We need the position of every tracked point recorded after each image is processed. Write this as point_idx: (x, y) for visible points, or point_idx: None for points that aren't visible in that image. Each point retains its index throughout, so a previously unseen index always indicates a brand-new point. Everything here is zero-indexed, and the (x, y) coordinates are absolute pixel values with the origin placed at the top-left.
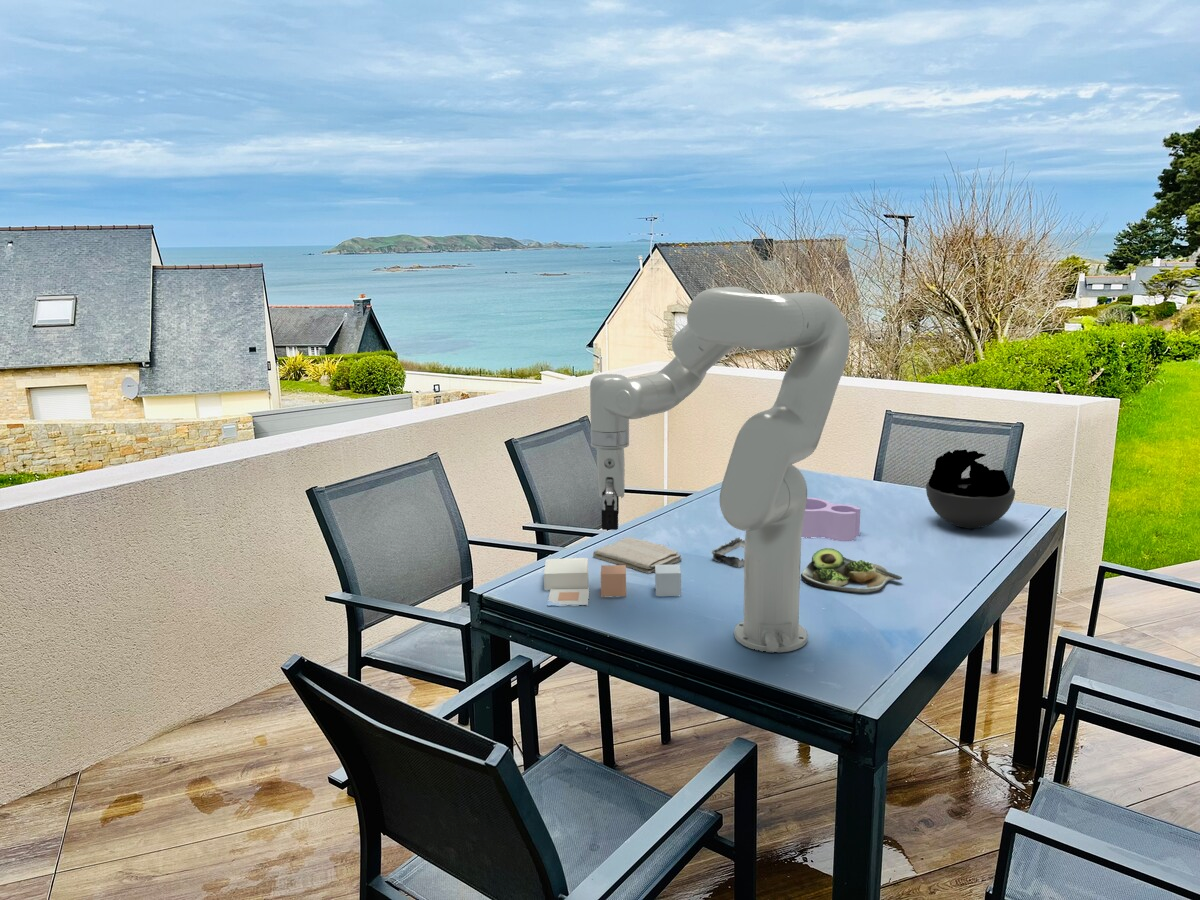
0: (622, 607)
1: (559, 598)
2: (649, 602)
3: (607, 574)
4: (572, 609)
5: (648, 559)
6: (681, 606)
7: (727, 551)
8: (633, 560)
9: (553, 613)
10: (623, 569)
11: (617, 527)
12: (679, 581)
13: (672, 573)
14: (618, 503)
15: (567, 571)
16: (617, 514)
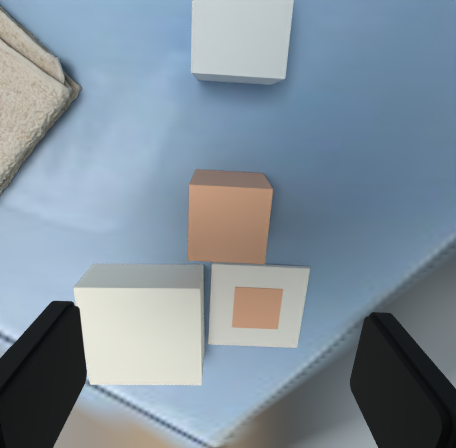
0: (331, 186)
1: (269, 326)
2: (311, 109)
3: (266, 244)
4: (320, 297)
5: (17, 85)
6: (359, 8)
7: None
8: (25, 140)
9: (334, 331)
10: (230, 194)
11: (392, 319)
12: None
13: (292, 6)
14: (29, 352)
15: (187, 336)
16: (452, 390)
